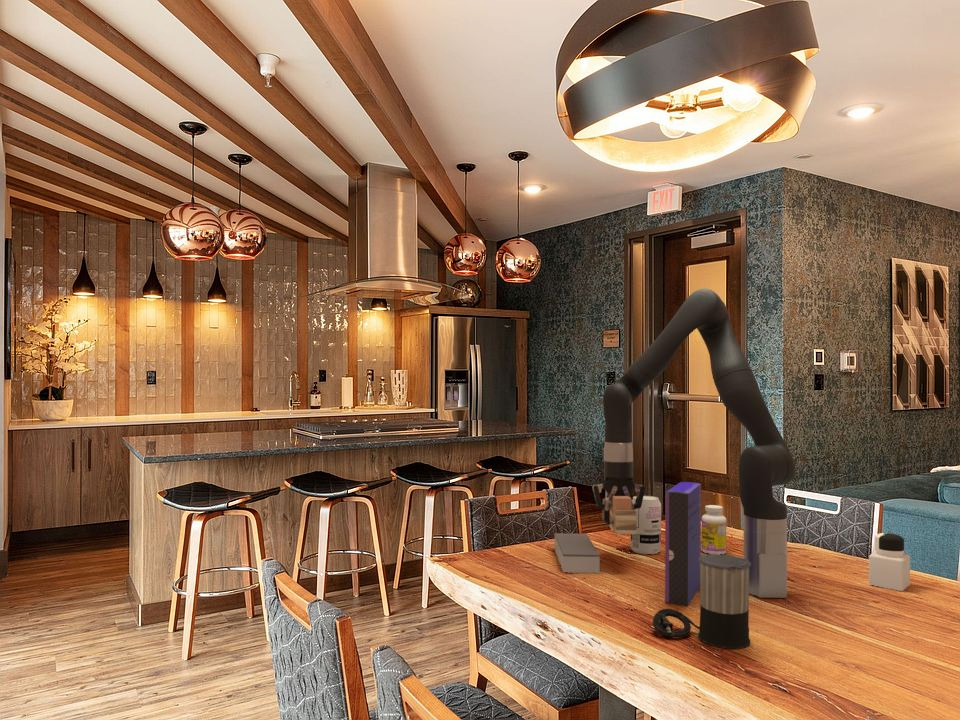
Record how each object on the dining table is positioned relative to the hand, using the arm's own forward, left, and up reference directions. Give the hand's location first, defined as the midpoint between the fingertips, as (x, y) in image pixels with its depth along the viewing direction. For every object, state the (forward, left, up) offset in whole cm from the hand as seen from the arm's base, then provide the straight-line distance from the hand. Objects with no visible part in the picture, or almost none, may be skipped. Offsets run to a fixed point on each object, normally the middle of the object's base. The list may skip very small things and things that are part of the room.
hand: (618, 524), depth 185 cm
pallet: (0, 0, -1) cm, 1 cm away
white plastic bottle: (-17, -61, -10) cm, 64 cm away
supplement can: (+13, -10, -10) cm, 20 cm away
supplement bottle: (+13, -29, -10) cm, 34 cm away
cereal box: (-26, -10, -10) cm, 29 cm away
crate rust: (-6, 0, +4) cm, 7 cm away
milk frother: (-53, -6, -10) cm, 54 cm away
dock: (+2, +11, -10) cm, 15 cm away
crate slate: (+6, 0, +4) cm, 7 cm away
